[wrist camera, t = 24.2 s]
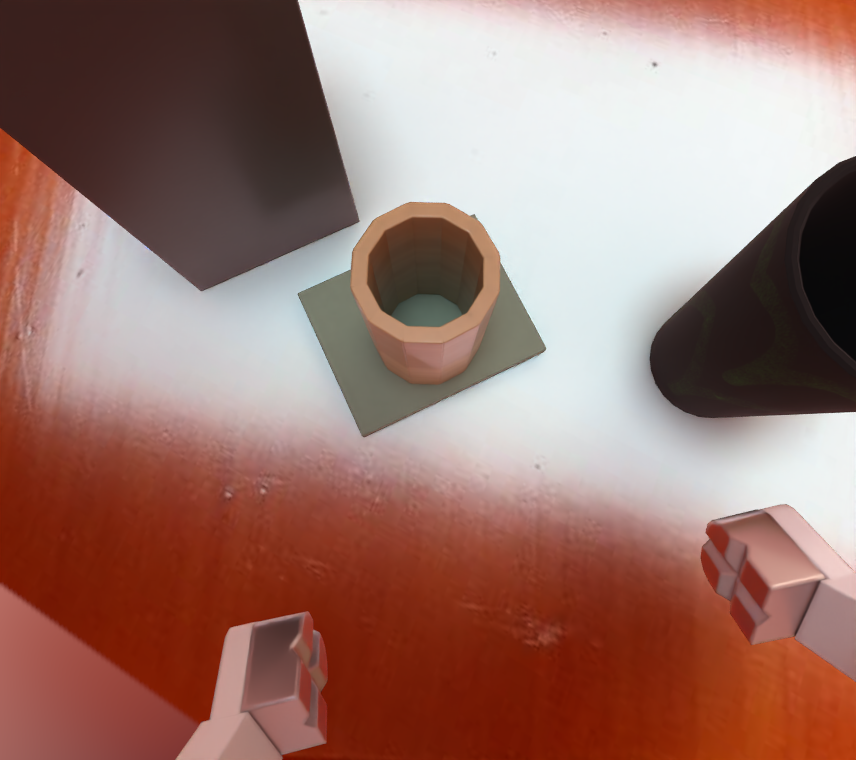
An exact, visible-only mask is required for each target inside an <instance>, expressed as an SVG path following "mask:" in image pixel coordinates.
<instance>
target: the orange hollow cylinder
mask: <svg viewBox="0 0 856 760" xmlns="http://www.w3.org/2000/svg"><path fill="white" fill-rule="evenodd" d="M350 287H351V291H352V294H353V296H354V299H355V301H356V303H357V306H358V308H359V310H360V313H361V315H362V317H363V320H364V322H365V324H366V327H367V329H368V331H369V334H370V336H371V338H372V341H373V343H374V345H375V347H376V349H377V351H378V353H379V355H380V357H381V359H382V361H383V362H384V364H385V366H386V368H387V369H388V370H390V371H391V372H393V373H394V374H396V375H398V376H399V377H401V378H403V379H404V380H406V381H408V382H409V383H412V384H436V385H439V384H442V383H444V382H446V381H447V380H449V379H451V378H453V377H455V376H457V375H459V374H461V373H463V372H464V371H465V370H466V369H467V367H468V365H469V364H470V362H471V360H472V359H473V357H474V356H475V354H476V352H477V351H478V349H479V347H480V344H481V341H482V339H483V336H484V333H485V331H486V328H487V325H488V322H489V320H490V317H491V314H492V312H493V309H494V306H495V304H496V301H497V298H498V295H499V292H500V255H499V252H498V250H497V249H496V247H495V245H494V244H493V242H492V240H491V239H490V237H489V235H488V234H487V232H486V230H485V228H484V227H483V225H482V224H481V223H480V222H479V221H478V220H476V219H474V218H473V217H471V216H469V215H467V214H465V213H464V212H462V211H460V210H458V209H457V208H455V207H453V206H451V205H450V204H446V203H423V202H409V203H406V204H404V205H402V206H400V207H398V208H396V209H394V210H392V211H390V212H387V213H385V214H383V215H381V216H379V217H377V218H376V219H375V220H373V221H372V223H371V224H370V226H369V227H368V229H367V230H366V231H365V233H364V234H363V236H362V237H361V239H360V240H359V242H358V243H357V245H356V246H355V247H354V249H353V252H352V263H351V280H350ZM416 294H439V295H441V296H443V297H444V298H446V299H448V300H450V301H451V302H453V303H455V304H456V305H458V307H459V309H460V311H461V312H462V314H463V315H462V316H460V317H458V318H456V319H454V320H452V321H450V322H448V323H446V324H444V325H442V326H440V327H422V326H407V325H405V324H403V323H402V322H400V321H398V320H397V319H395V318H393V317H392V316H391V315H392V313H393V311H394V310H395V308H396V307H397V305H398V304H399V303H401V302H403V301H404V300H406V299H408V298H410V297H412V296H414V295H416Z"/></svg>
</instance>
